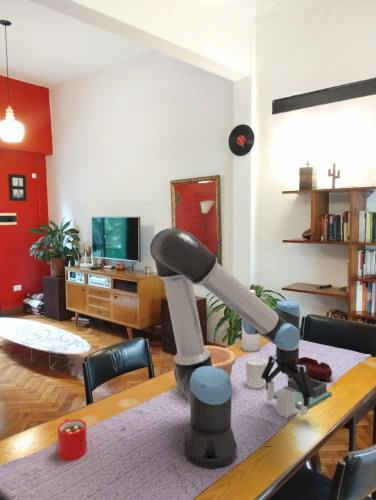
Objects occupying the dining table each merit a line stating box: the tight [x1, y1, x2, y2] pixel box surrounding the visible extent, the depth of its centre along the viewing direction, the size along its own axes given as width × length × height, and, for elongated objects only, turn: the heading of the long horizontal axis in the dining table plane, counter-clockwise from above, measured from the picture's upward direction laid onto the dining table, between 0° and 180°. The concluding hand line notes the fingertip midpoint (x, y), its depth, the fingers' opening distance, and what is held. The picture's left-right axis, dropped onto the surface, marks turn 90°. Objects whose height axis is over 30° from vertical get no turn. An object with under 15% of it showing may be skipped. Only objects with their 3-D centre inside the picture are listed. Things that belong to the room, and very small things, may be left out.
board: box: [274, 375, 333, 410], centre depth 148 cm, size 18×14×4 cm
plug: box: [276, 385, 296, 419], centre depth 135 cm, size 5×4×8 cm
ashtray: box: [290, 356, 333, 382], centre depth 168 cm, size 18×16×5 cm
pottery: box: [204, 345, 237, 378], centre depth 152 cm, size 22×22×14 cm
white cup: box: [245, 356, 267, 390], centre depth 157 cm, size 8×8×10 cm
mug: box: [57, 418, 88, 462], centre depth 115 cm, size 8×12×8 cm, turn 34°
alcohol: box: [241, 289, 261, 353], centre depth 197 cm, size 9×9×30 cm
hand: (286, 406), depth 136 cm, fingers open, 13 cm apart
